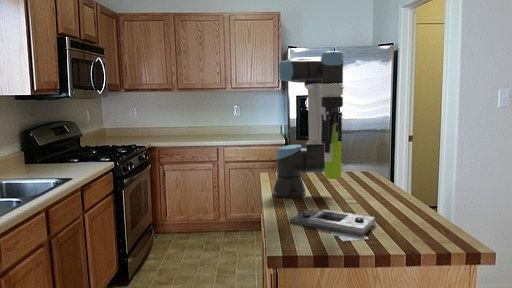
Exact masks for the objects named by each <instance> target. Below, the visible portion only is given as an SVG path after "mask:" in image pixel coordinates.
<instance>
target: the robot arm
mask: <svg viewBox="0 0 512 288" xmlns="http://www.w3.org/2000/svg"><path fill="white" fill-rule="evenodd" d="M278 65H279V66H278V74H279V76H278V77H279V80H280V81H281V82H282V81H286V82H291V83H300V84H301V83H303V84H304V88H305V89H306V90H307V106H308V107H307V112H308V114H307V115H308V122H307V123H308V140H307V142H306V143H305V147H302V145H301V144H289V145H284V146H281V147H279V148H278V149H277V151H276V181H275V185H274V188H273V196H275V197H279V198H283V199H297V198H301V197H304V196H305V195H306V187H305V185H304V184H305V183H304V181H303V178H302V173H325V162H332V144H331V140H332V131H333V125H335V123H338V125H336V131H337V132H338V141H340V142H342V141H343V132H342V131H343V129H342V128H343V120H342V119H343V112H342V111H340V110H339V108H342V107H343V106H344V97H343V95H344V94H343V93H344V91H343V90H344V89H345V87H344V55H343V52H342V51H337V50H336V51H324V52H322V53H321V56H312V57H293V58H288V59H285V60H281V61H279V63H278Z"/></svg>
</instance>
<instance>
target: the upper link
mask: <svg viewBox="0 0 512 288" xmlns="http://www.w3.org/2000/svg"><path fill="white" fill-rule="evenodd" d="M317 212H318V213H316V214H315V215H313V216H312V217H310V218H309V219H308V223H313V224H318V225H324V226H330V227H335V228H341V229H342V232H343V233H342V234H347V233H349V234H348V235H352V234H353V236H358V235H359V237H364V236H365V235H366V234H367V233H368V232H369V231H370V230H371V229H373V227H374V226H375V225H376V217H375V216H368V215H361V214H356V213H350V212H343V211H337V210H331V209H330V210H329V209H325V208H324V209H321V210H319V211H317ZM324 215H328V216H334V217H340V218H344V219H343V220H341V221H337V220H331V219H320V218H321V217H323V216H324ZM363 235H364V236H363Z"/></svg>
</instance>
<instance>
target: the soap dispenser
mask: <svg viewBox="0 0 512 288" xmlns="http://www.w3.org/2000/svg"><path fill="white" fill-rule="evenodd" d="M336 125H338V123H335V125H333V131H332V140H331V144H332V162H325V172H324V178H325V179H327V180H328V179H329V180H339V179H341V178H342V141H338V132H337V131H336Z"/></svg>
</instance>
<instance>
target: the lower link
mask: <svg viewBox="0 0 512 288" xmlns="http://www.w3.org/2000/svg"><path fill="white" fill-rule="evenodd" d="M318 212H319V211H315V210H308V209H305V210H304V211H302V212H300V213H299V214H297V215H295V216H293V217H292V218H289V223H290V224H294V225H298V226H304V227H310V228H315V229H320V230H326V231H332V232H336V231H337V233H341V232H342V229H341V228H335V227H330V226H324V225H318V224H313V223H308V219H309V218H310V217H312V216H313V215H315V214H316V213H318ZM320 219H324V220H330V221H336V222H340V221H341V220H343V219H344V218H340V217H334V216H328V215H324V216H323V217H321V218H320Z"/></svg>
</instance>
